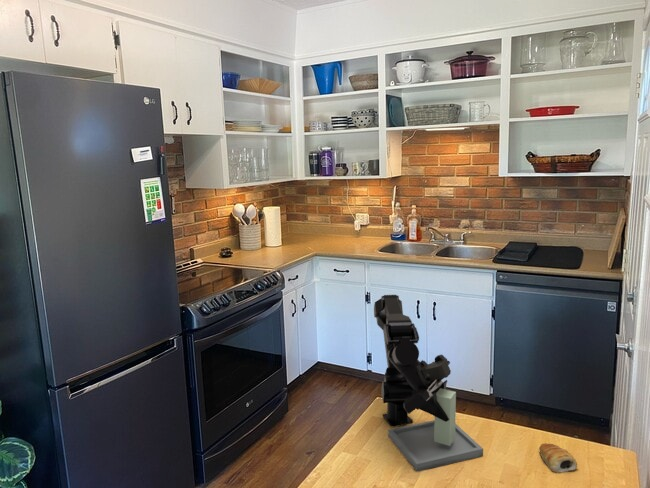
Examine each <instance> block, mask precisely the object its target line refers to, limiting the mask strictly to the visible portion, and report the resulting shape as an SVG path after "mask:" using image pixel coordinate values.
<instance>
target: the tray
mask: <svg viewBox="0 0 650 488" xmlns="http://www.w3.org/2000/svg"><path fill="white" fill-rule="evenodd" d="M387 432H388V433H387V436H388V438H389V439H390V441H391V440H392V441H391V443H393V445H394V446H395V447H396V448H397V450H398V451H399V452H400V453H401V455H402V456H404V458H405V460H407V462H408V463H409V464H410V465H411V467H412V468H413V469H414V471H415V472H417V473H418V472H421V471H426V470H430V469H434V468H435V469H436V468H438V467H444V466H447V465H451V464H452V465H453V464H455V463H460V462H464V461H469V460H473V459H477V458H482V457H484V448H483V447H482V446H481V445H480V444H479V443H477V442H476V441H475V440H474V439H473V437H471V436H470V435H469V434H468V433H467V432H465V431H464V430H463V429H462V428H461V427H460V426H458V424H456V423H455V439H454V441H453V442H452V443H451V445H450V446H448V445H445V444H442V443H438V442H435V441H434V419H433V420H429V421H424V422H423V421H422V422H419V423H414V424H410V425H408V424H407V425H404V426H398V427H395V428H394V427H393V428H389V429H388V430H387Z"/></svg>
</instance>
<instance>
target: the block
mask: <svg viewBox="0 0 650 488" xmlns="http://www.w3.org/2000/svg"><path fill="white" fill-rule="evenodd" d="M436 395H437V402H438V403H439V405H440V406H441V407H442V409H443V410H444V412H445V413H446V415H447V416H448V418H449V420H448V421H447V422H445V421H443V420H441V419H439V418H437V417H435V416H433V417H434V419H433V420H434V441H435V442H438V443H442V444H445V445H448V446H450V445H451V443H452V442H453V441H454V439H455V424H456V419H457V418H456V417H457V416H456V413H457V412H456V411H457V410H456V409H457V407H456V406H457V392H456V391H453V390H450V389H446V390H445V389H441V388H440V389H439V391H438V392H437V393H436Z"/></svg>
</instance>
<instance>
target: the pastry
mask: <svg viewBox="0 0 650 488" xmlns="http://www.w3.org/2000/svg"><path fill="white" fill-rule="evenodd" d="M538 449H539V452H540V455H541V459H542V461H543V462H544V463H545V464H546V466H547V467H548V468H549V470H550V471H552V472H554V473H559V474H560V473H565V472H569V471H574V470H576V469H577V468H578V461H577V460H576V459H575V458H574V456H573V455H572V454H571V453H570V452H569V451H568V450H567V449H565V448H561V447H560V446H559V445H556V444H553V443H546V442H545V443H541V444H540V446H539V447H538Z"/></svg>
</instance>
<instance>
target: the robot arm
mask: <svg viewBox="0 0 650 488" xmlns="http://www.w3.org/2000/svg"><path fill="white" fill-rule="evenodd" d="M373 316H374V317H373V318H376V324H377V326H378V328H380V329H381V330H382V332H383V333H382V334H383V338H384V339H383V341H384V348H385V355H386V356H385V357H386V363H387V367H386V369H385V372H384V379H383V381H382V383H381V389H380V391H381V392H380V393H381V398H382V403H383V404H386V408H387V409H386V413H383V414H382V417H383V418H384V419H385V421H386V423H388V424H389V425H390V426H391V427H393V428H394V427H400V426H403V425H404V426H405V425H408V424H412V423H413V422H414V421H413V419H412V418H411V417H410V416H409V414H411V413H413V412H414V411H415V410H420V411H423V412H424V413H427V414H429V415H431V416H433V417H437V418H439V419H441V420H443V421H445V422H447V421H448V420H449V418H448V416H447V415H446V413H445V412H444V410H443V409H442V407H441V406H440V405H439V403H438V402H437V395H436V393H437V392H438V391H439V389H440V388H441V389H445V390H447V383H448V380H447V379H446V380H444V379H445V378H448V377H449V376H450V375H451V372H452V370H451V369H450V366H449V365H450V364H451V361H449V360H448V358H447V357H445V356H444V355H443V354H439V355H436V356H435V357H434V361H432V362H431V363H427V362H426V361H425V360H423V359H422V360H419V357H420V351H419V347H418V346H417V344H418V343H419V341H420V336H419V333H418V332H419V331H418V329H417V327H416V326H415V325H416V324H414V323H413V321H412V319H411V317H410V316H408V315H405V314H404V311H403V302H402V300H401V299H400V297H399V295H398V294H384V295H381V297H380V298H379V299H378V300H376V301H375V302H374V304H373ZM442 380H444V381H442Z"/></svg>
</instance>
